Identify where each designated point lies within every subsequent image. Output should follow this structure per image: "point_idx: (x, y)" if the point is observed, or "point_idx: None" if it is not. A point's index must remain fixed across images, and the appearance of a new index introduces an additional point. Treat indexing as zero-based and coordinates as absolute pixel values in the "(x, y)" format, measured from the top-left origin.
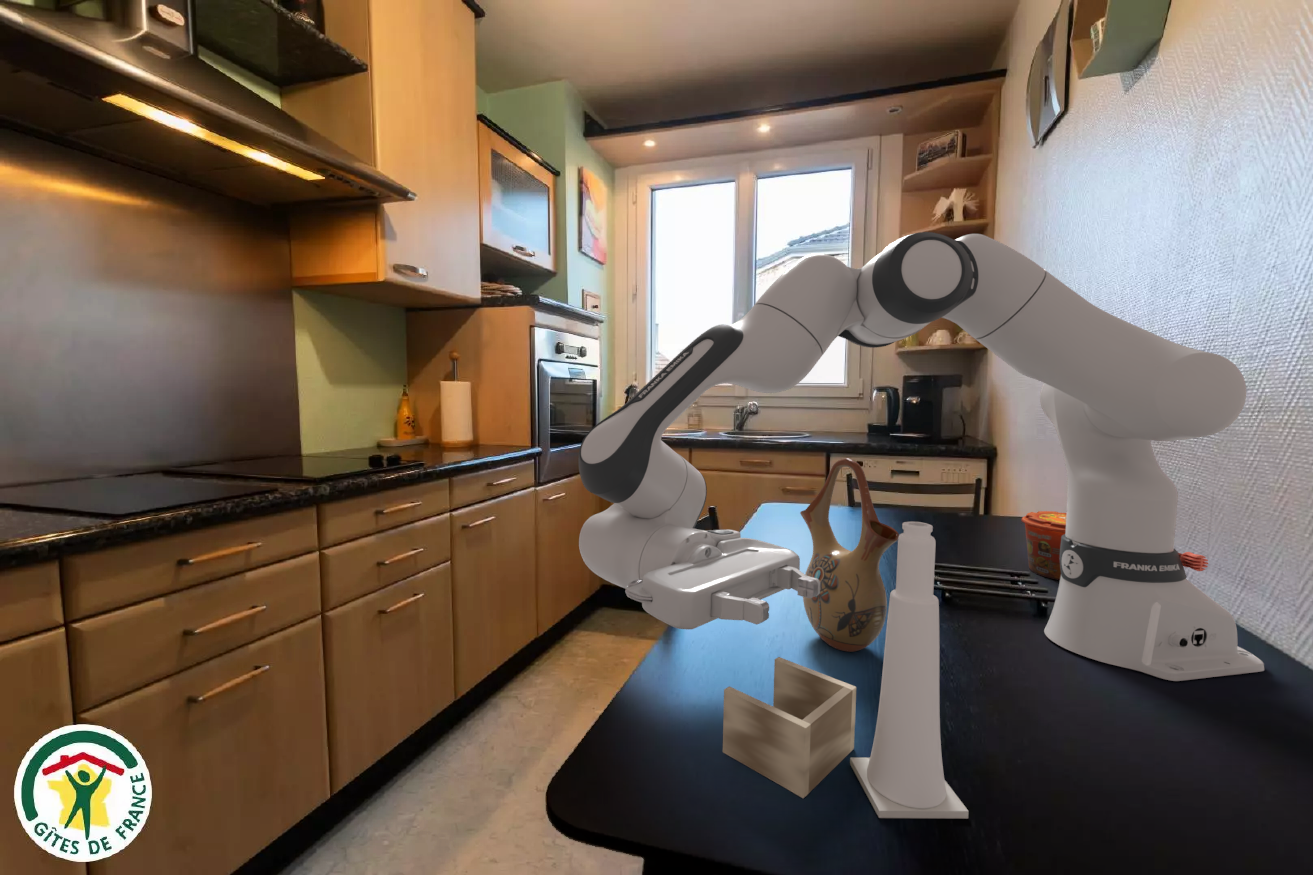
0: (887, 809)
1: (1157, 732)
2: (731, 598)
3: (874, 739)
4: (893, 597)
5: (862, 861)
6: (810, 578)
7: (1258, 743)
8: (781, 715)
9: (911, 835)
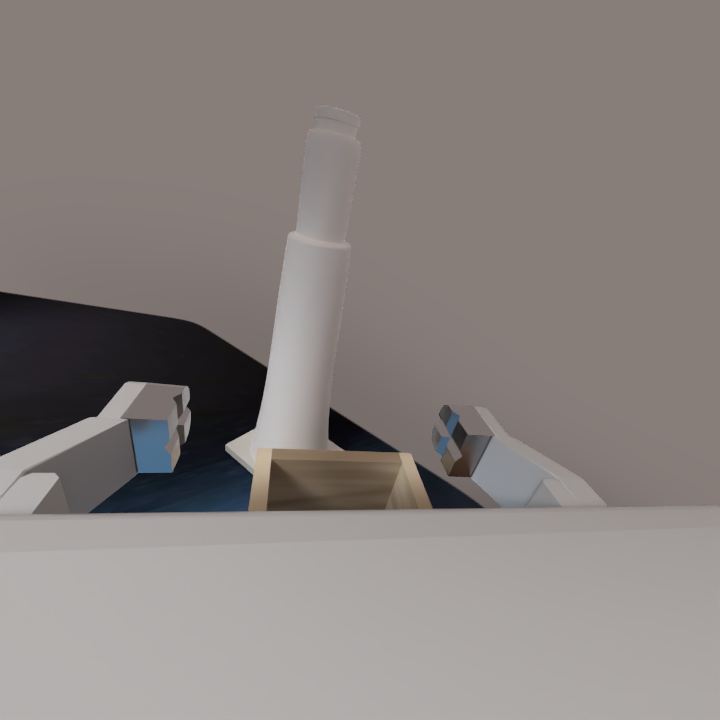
0: (339, 449)
1: (20, 336)
2: (548, 459)
3: (312, 437)
4: (346, 249)
5: (398, 452)
6: (140, 394)
7: (14, 304)
8: (420, 484)
9: (341, 437)
